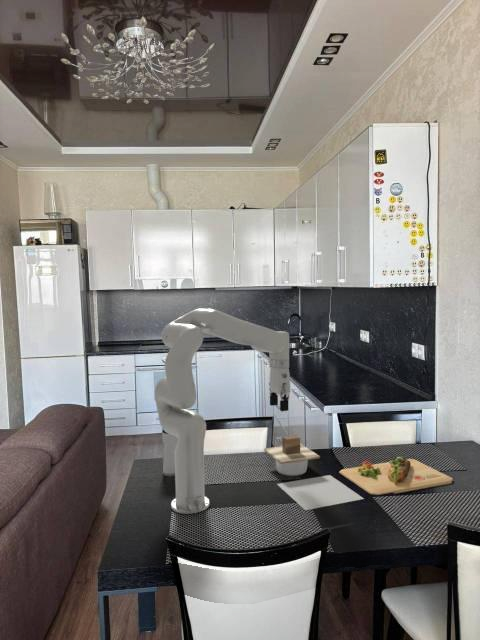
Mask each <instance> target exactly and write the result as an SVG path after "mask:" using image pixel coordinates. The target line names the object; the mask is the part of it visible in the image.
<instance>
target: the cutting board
mask: <svg viewBox="0 0 480 640" xmlns="http://www.w3.org/2000/svg"><path fill="white" fill-rule="evenodd" d="M361 464H362V465H361V466H356V467H349V468H343V469H341V470H340V471H339V472H338V473H339V474H340V475H342V476H344V477H345V478H346V479H347V480H349V481H350V482H352V483H354V484H355V485H357V486H358V487H359V488H361V489H362V490H363V491H365V492H367V493H368V494H370V495H375V496H380V495H386V494H391V493H393V494H396V495H397V494H400V493H405V492H406V493H407V492H410V491H418V490H421V489H428V488H432V487H438V486H443V485H444V486H445V485H449V484H452V482H453V477H451V476H449V475H447V474H445V473H443V472H440V471H438V470H437V469H434V468H433V467H431V466H429V465H426V464H424V463H422V462H421V461H420V460H419V461H418V460H417V459H413V458H408V459H407V458H405V457H404V456H397V457H396V459H395V460H389V461H388V462H381V463H376V464H372V463H371V462H370V461H369V460H365V461H363V462H362V463H361Z"/></svg>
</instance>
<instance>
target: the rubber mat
mask: <svg viewBox="0 0 480 640" xmlns="http://www.w3.org/2000/svg"><path fill="white" fill-rule="evenodd" d="M276 485H277V486H278V487H279V488H280V489H281V490H283V491H284V493H286V494H287V495H288V496H289V497H290V498H291V499H292V500H293V501H295V502H296V503H297V504H298V505H299V506H300V507H301V508H302V509H303V510H305V511H308V510H313V509H319V508H324V507H330V506H335V505H339V504H345V503H350V502H355V501H360V500H364V499H365V498H364V497H362V496H361V495H360V494H358V493H357V492H355V491H354V490H352V489H351V488H349V487H348V486H347V485H345V484H344V483H342V482H341V481H340V480H338V479H336V478H334V477H333V476H332V475H330V474H329V475H322V476H316V477H310V478H305V479H299V480H294V481H293V480H292V481H288V482H287V481H286V482H281V483H276Z"/></svg>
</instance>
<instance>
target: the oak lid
mask: <svg viewBox="0 0 480 640" xmlns="http://www.w3.org/2000/svg"><path fill="white" fill-rule="evenodd" d="M281 438H282V439H281V443H282V445H281V446H280V445H279V446H273V447H265V448H264V452H266V453H267V454H268V455H269V456H271V457H272V458H273V459H276V460H277V461H278V462H279V463H280V464H285V463H292V462H298V461H305V460H308V461H310V460H311V461H312V460H316V459H317V460H318V459H320V458H321V455H318V453H316V452H315V451H313V450H311V449H309V447H307V446H305V445H304V444H302V443H301V437H300V436H299V435H297V434H293V435H285V436H282V437H281Z"/></svg>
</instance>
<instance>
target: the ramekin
mask: <svg viewBox="0 0 480 640" xmlns="http://www.w3.org/2000/svg"><path fill="white" fill-rule="evenodd" d="M308 461H309V460H305V461H298V462H292V463H285V464H280V463H279V462H278V461H277V460H276V459H275V468H276V472H278V473H279V474H281V475H285V476H293V477H294V476H300V475H304V474H305V473H306V472H307V469H308Z"/></svg>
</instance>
